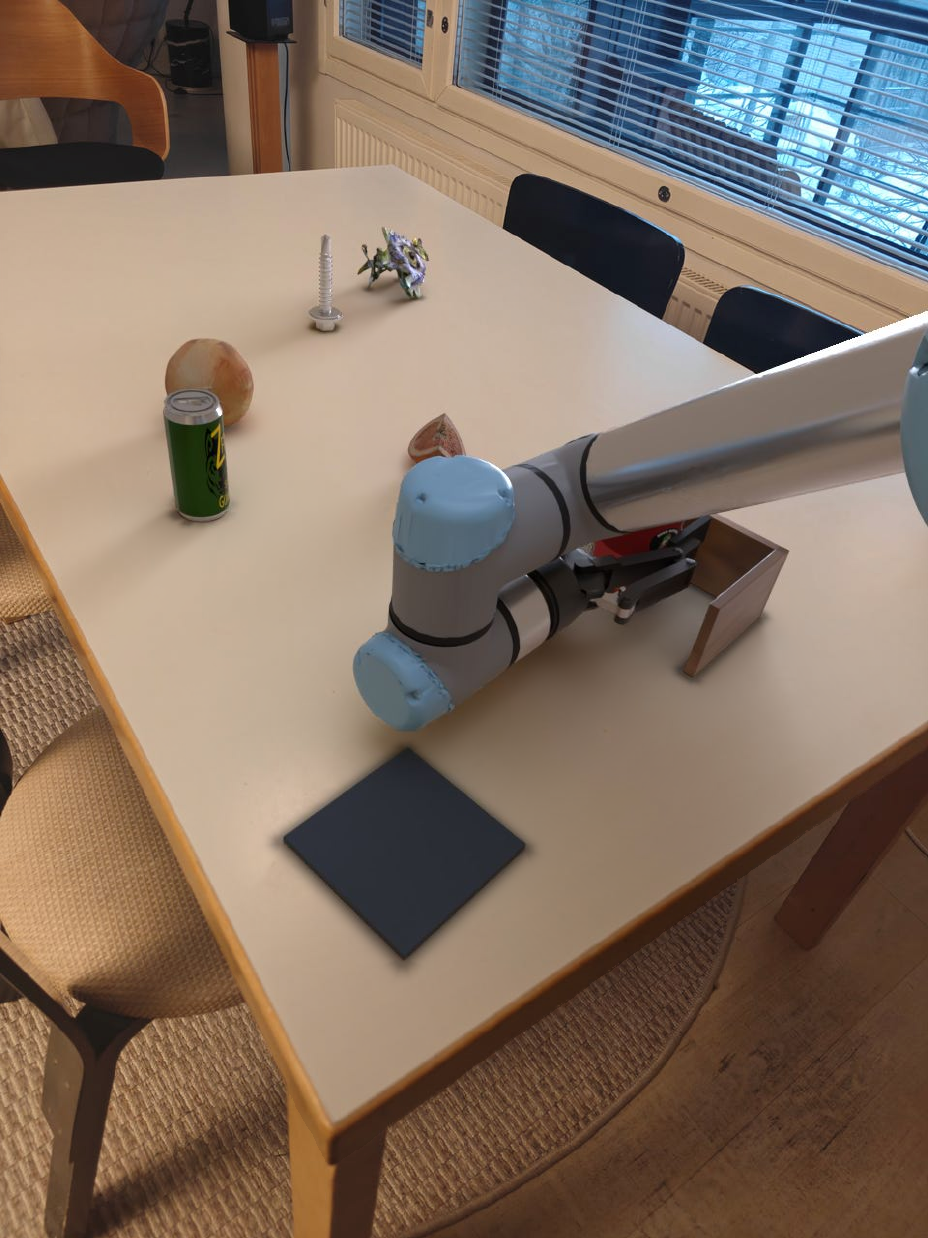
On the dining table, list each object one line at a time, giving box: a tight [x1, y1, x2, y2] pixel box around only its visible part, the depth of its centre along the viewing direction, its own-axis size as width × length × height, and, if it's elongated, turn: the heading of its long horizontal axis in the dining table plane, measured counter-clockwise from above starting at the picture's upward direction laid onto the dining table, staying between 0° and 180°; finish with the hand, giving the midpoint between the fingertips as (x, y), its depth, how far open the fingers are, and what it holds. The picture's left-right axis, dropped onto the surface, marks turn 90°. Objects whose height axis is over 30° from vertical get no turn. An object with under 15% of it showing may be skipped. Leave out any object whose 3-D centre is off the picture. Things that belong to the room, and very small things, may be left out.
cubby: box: [682, 513, 790, 678], centre depth 84 cm, size 24×13×8 cm, turn 47°
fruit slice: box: [407, 412, 467, 464], centre depth 97 cm, size 8×7×5 cm
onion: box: [164, 337, 255, 427], centre depth 98 cm, size 10×10×10 cm
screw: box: [307, 234, 343, 332], centre depth 121 cm, size 13×5×5 cm
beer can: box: [162, 389, 231, 523], centre depth 84 cm, size 5×5×12 cm
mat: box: [282, 746, 526, 960], centre depth 60 cm, size 12×12×1 cm
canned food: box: [589, 521, 685, 593], centre depth 81 cm, size 8×8×11 cm
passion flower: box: [356, 226, 430, 299], centre depth 136 cm, size 11×11×12 cm
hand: (666, 508), depth 84 cm, fingers closed on canned food, 8 cm apart
